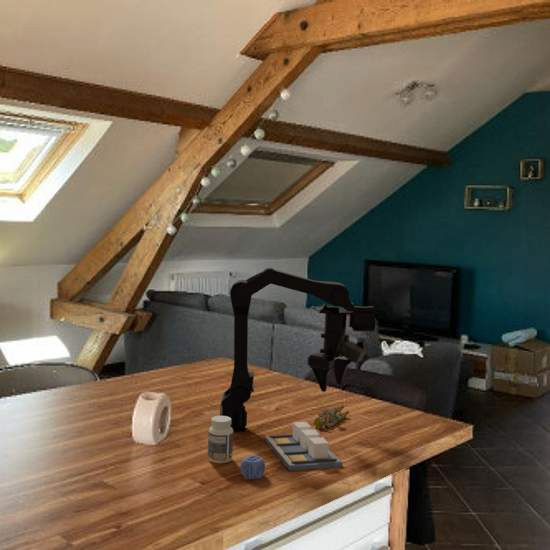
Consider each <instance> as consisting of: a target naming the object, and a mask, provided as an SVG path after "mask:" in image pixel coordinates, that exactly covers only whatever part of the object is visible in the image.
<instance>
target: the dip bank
mask: <svg viewBox="0 0 550 550" xmlns="http://www.w3.org/2000/svg"><path fill="white" fill-rule="evenodd" d="M292 434H293V433H292ZM292 434H290V433H289V434H279V435H278V434H275V435H264V436H263V438H264V439H263V441H265V443H266V444H267V445H268V446H269V447H270V448H269V449H271V450H272V451H273V453H274V454H275V455H276V456H277V458H278V459H279V460H280V461H281V463H283V465H284V467H286V468H287V470H288V472H289V471H303V470H304V471H305V470H316V469H318V470H319V469H330V468H342V467H343V466H344V463H343V461H342V460H341V459H340V458H339V457H338V456H337V455H335V453H333V451H331V450H330V449H329V448H328V458H324V459H313V458H312V457H311V456H310V455H309V454H308V450H305V449H304V448H303V447H302V446H301V445H300V442H297V441H296V440H295V439H294V438H293V437H292Z"/></svg>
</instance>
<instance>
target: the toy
mask: <svg viewBox="0 0 550 550" xmlns="http://www.w3.org/2000/svg"><path fill="white" fill-rule="evenodd" d="M344 408H345V405H341V406H340V407H334V408H333V409H331V410H328V409H327V408H326V409H323V410H321V411H319V412H318V413H317V416H318V417H317V418H314V422H313V424H312V425H313V426H315V428H316V429H318V428H323V427H325V426H326V427H328V428H331V427H333V426H335V425H336V424H337V423H338V422H339V421H342V419H346V417H347V416H348V415H349V413H350V411H349V410H346V411H345V412H342V410H343V409H344Z"/></svg>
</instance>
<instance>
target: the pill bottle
mask: <svg viewBox="0 0 550 550" xmlns="http://www.w3.org/2000/svg"><path fill="white" fill-rule="evenodd" d="M210 423H211V426H210V427H209V429H208V432H207V433H208V439H207V440H208V442H207V447H208V448H207V459H208V461H210V462H211V463H214V464H226V463H230V462H231V461H232V460H233V450H234V448H233V446H234V431H233V429H232V428H231V427H230V425H231V418H230V417H227V416H220V415H216V416H212V417H211V421H210Z"/></svg>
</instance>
